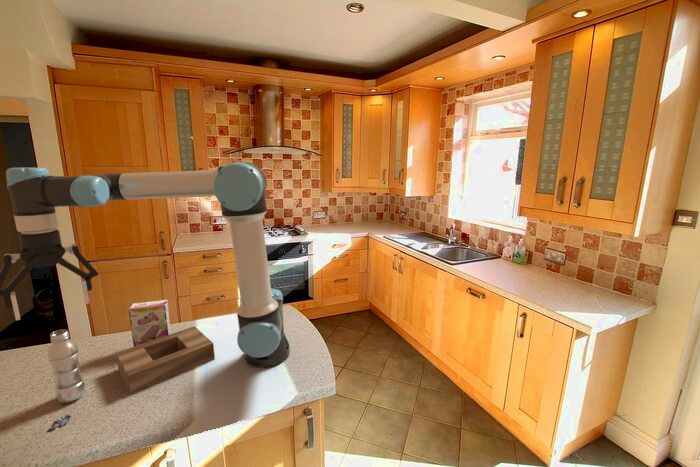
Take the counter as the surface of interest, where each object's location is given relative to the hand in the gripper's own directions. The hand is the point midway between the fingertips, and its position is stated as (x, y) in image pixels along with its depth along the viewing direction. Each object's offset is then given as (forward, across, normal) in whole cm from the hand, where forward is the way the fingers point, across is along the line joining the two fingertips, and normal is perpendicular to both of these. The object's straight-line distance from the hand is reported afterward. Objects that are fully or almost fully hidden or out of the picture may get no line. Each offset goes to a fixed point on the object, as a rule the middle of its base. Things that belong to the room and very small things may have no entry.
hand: (54, 309), depth 86 cm
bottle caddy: (+26, -24, +2) cm, 36 cm away
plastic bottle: (+27, 0, 0) cm, 27 cm away
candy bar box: (+27, -24, -13) cm, 38 cm away
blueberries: (+27, +3, +9) cm, 29 cm away
